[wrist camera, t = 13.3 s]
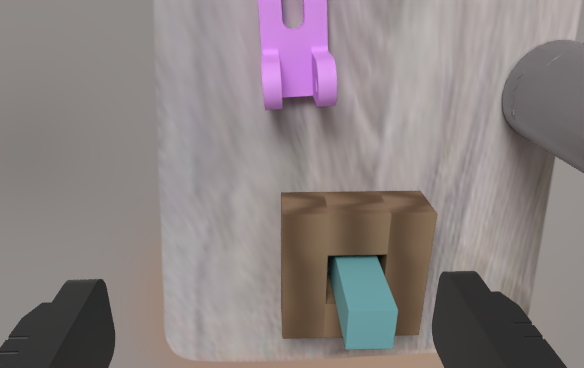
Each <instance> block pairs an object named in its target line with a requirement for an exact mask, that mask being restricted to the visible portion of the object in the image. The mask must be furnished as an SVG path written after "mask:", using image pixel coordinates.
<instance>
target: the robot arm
mask: <svg viewBox="0 0 584 368" xmlns="http://www.w3.org/2000/svg"><path fill="white" fill-rule="evenodd" d="M502 105H503V112H504V115H505V118H506V120H507V122H508V123H509V125H510V126H511V128H512V129H514V130H515V131H516V132H517V133H519V134H520V135H522V136H523V137H525V138H527V139H528V140H530V141H532V142H533V143H535V144H537V145H538V146H540V147H541V148H543V149H545V150H546V151H548V152H549V153H551V154H553V155H554V156H556V157H558V158H559V159H561V160H563V161H564V162H566V163H568V164H569V165H571V166H573V167H574V168H576V169H578V170H580V171H581V172H583V173H584V43H580V42H575V41H570V40H558V41H553V42H549V43H546V44H544V45H541V46H539V47H537V48H535V49H534V50H532V51H531V52H529V53H528V54H527V55H525V56H524V57H523V58H522V59H521V60H520V61H519V62H518V63H517V65H516V66H515V67H514V69H513V70H512V71H511V73H510V75H509V77H508V79H507V81H506V84H505V87H504V91H503V98H502ZM432 336H433V341H434V345H435V348H436V351H437V353H438V355H439V357H440V359H441V361H442V363H443V365H444V368H567V367H566V366H565V364H564V363H563V362H562V361H561V359H560V358H559V357H558V355H557V354H556V353H555V351H554V350H553V349H552V348H551V346H550V345H549V344H548V343H547V341H546V340H545V339H543V338H542V335H541V333H540V332H539V331H538V330H537V328H536V327H535V326H534V325H532V322H531V321H530V320H529V318H528V317H527V315H526V314H525V313H524V312H523V310H522V309H521V308H520V306H519V305H517V304H516V303H515V302H513V301H512V300H510V299H509V298H508V297H506V296H505V295H503V294H502V293H501V292H491V291H490V290H489V288H488V287H487V285H486V284H485V283H484V281H483V280H482V278H481V277H480V276H479V274H478V273H477V272H475V271H455V272H442V274H441V275H440V278H439V283H438V289H437V295H436V301H435V308H434V314H433V320H432ZM114 347H115V329H114V324H113V319H112V313H111V308H110V303H109V298H108V292H107V288H106V284H105V282H104V281H103V280H102V279H93V280H92V279H89V280H68V281H67V282H66V283H65V284H64V285H63V286H62V288H61V290H60V291H59V292H58V294H57V295H56V297H55V298H54V300H53V301H52V303H41V304H40V305H39V306H37V307H36V308H35V309H33V310H32V311H31V312H29V313H28V314H27V315H25V316H24V317H23V318H22V319H21V320H20V322H19V323H18V325H16V327H15V328H14V330H13V331H12V332H11V334H10V335H9V339H8V340H6V341H5V342H4V343H3V345H2V346H1V347H0V368H108V367H109V364H110V362H111V359H112V356H113V353H114Z"/></svg>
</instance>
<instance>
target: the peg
mask: <svg viewBox="0 0 584 368" xmlns="http://www.w3.org/2000/svg"><path fill="white" fill-rule="evenodd" d="M328 269H329V273H330V278H331V283H332V287H333V292H334V297H335V302H336V306H337V311H338V316H339V320H340V325H341V330H342V335H343V339H344V344H345V349H346V350H349V349H388V348H393V345H394V337H395V330H396V322H397V315H398V309H397V306H396V304H395V301H394V299H393V296H392V294H391V291H390V288H389V286H388V283H387V281H386V278H385V276H384V273H383V271H382V268H381V266H380V263H379V261H378V258H377V256H376V255H331V256H329V264H328Z"/></svg>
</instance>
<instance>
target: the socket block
mask: <svg viewBox="0 0 584 368" xmlns="http://www.w3.org/2000/svg"><path fill="white" fill-rule="evenodd" d="M436 220H437V213H436V211H435V210H434V209H433V207H432V206H431V205H430V203H429V202H428V200H427V199H426V198H425V196H424V195H423V194H422V192H421V191H372V192H292V193H281V312H282V336H283V339H288V338H325V337H343V335H342V330H341V325H340V320H339V316H338V311H337V306H336V302H335V297H334V292H333V287H332V283H331V278H330V274H327V260H328V256H331V255H376V256H377V258H378V261H379V263H380V266H381V268H382V271H383V273H384V276H385V278H386V281H387V283H388V286H389V288H390V291H391V294H392V296H393V299H394V301H395V304H396V306H397V309H398V315H397V322H396V330H395V336H397V335H419V330H420V323H421V317H422V310H423V304H424V297H425V291H426V284H427V278H428V271H429V265H430V258H431V252H432V245H433V239H434V232H435V226H436Z"/></svg>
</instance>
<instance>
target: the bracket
mask: <svg viewBox="0 0 584 368" xmlns="http://www.w3.org/2000/svg"><path fill="white" fill-rule="evenodd" d="M258 6H259V19H260V32H261V46H262V82H263V95H264V106H265V110H274V109H283V105H282V98H283V97H299V96H313V97H314V100H315V102H316V105H317V107H322V106H335V105H336V101H337V75H336V65H335V60H334V58H333V57H332V56H331V54H330V53H329V52H328V34H327V0H303V14H304V19H303V22H302V24H301V25H300V26H299V27H298V28H295V29H290V28H288V27H286V26H285V25H284V24H283V21H282V8H281V0H258Z"/></svg>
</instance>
